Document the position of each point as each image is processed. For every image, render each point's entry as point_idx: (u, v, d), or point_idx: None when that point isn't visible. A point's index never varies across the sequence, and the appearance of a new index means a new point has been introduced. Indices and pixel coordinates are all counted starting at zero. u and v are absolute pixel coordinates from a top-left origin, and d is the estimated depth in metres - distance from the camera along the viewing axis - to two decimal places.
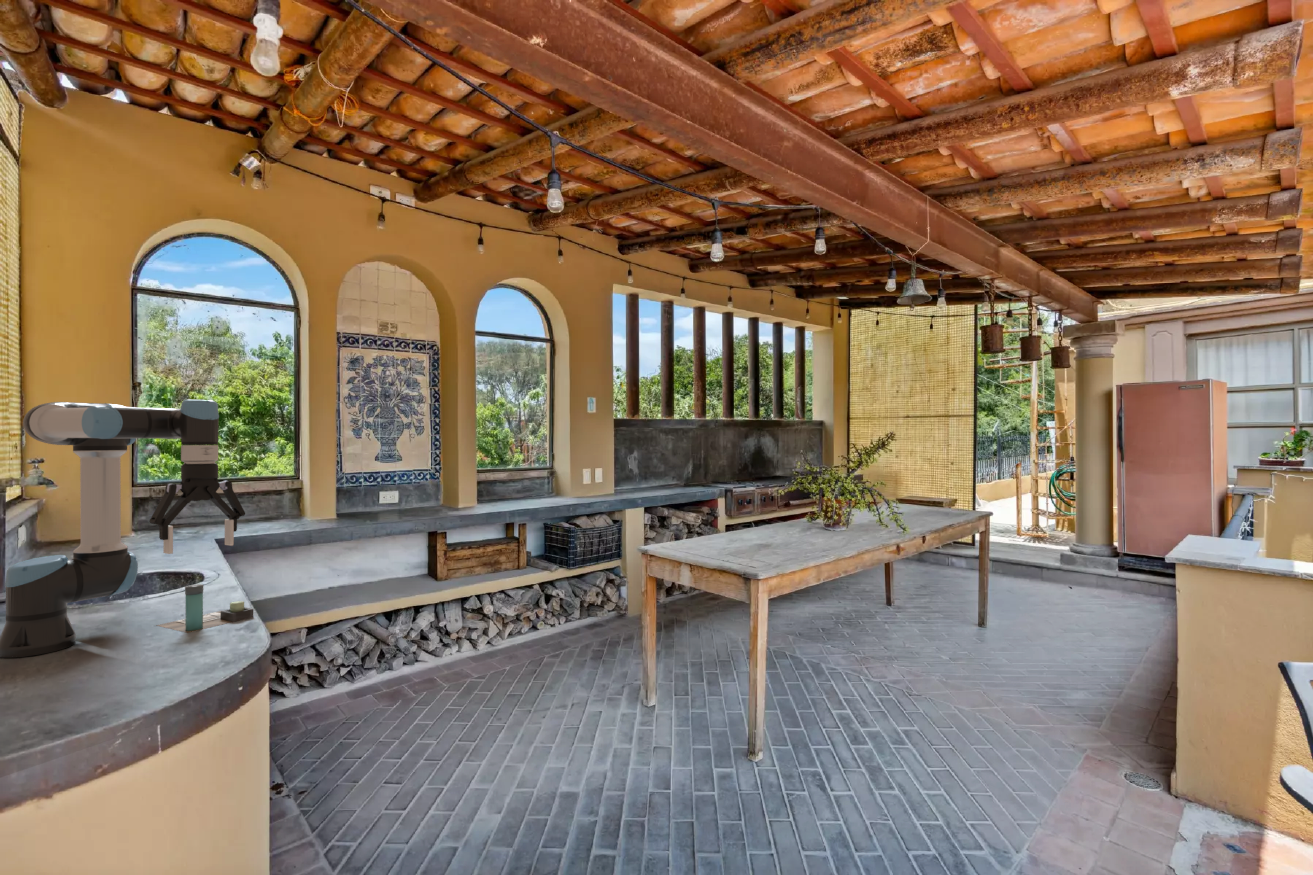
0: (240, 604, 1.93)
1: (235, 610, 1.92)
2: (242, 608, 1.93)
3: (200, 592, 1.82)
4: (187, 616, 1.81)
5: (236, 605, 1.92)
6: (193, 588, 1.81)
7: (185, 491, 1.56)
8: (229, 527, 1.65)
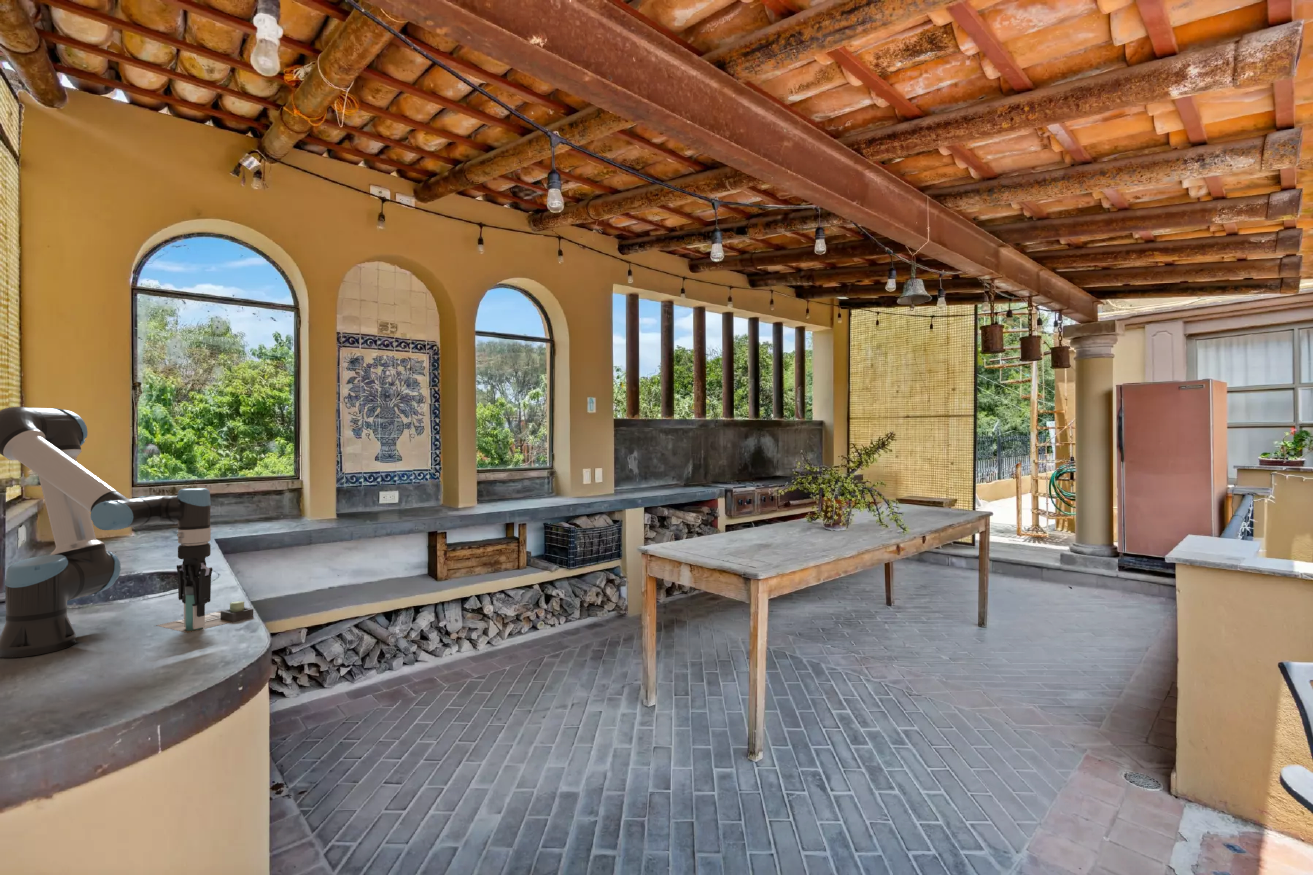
0: (240, 604, 1.93)
1: (235, 610, 1.92)
2: (242, 608, 1.93)
3: None
4: (187, 616, 1.81)
5: (236, 605, 1.92)
6: None
7: None
8: None
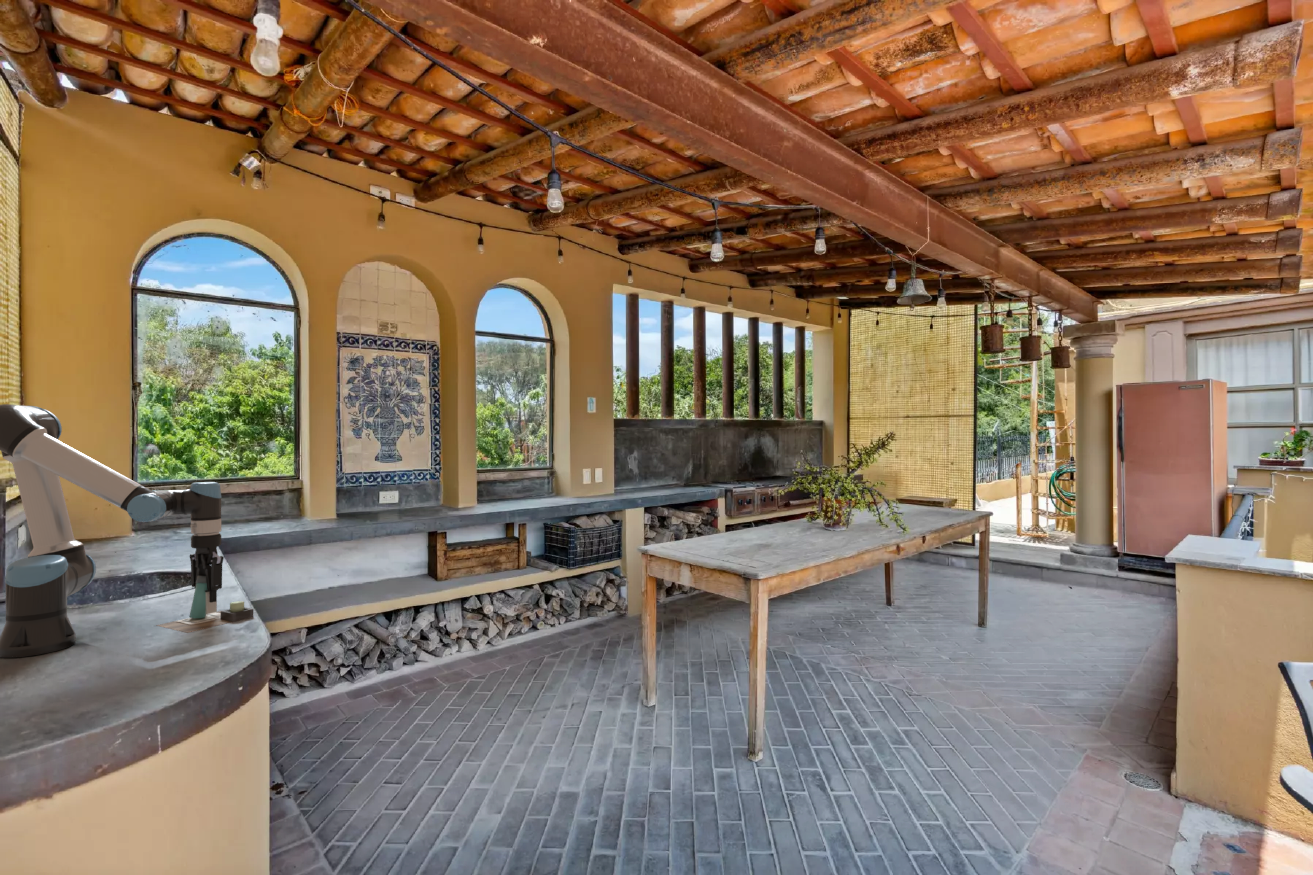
0: (240, 604, 1.93)
1: (235, 610, 1.92)
2: (242, 608, 1.93)
3: None
4: (197, 604, 1.91)
5: (236, 605, 1.92)
6: None
7: None
8: None
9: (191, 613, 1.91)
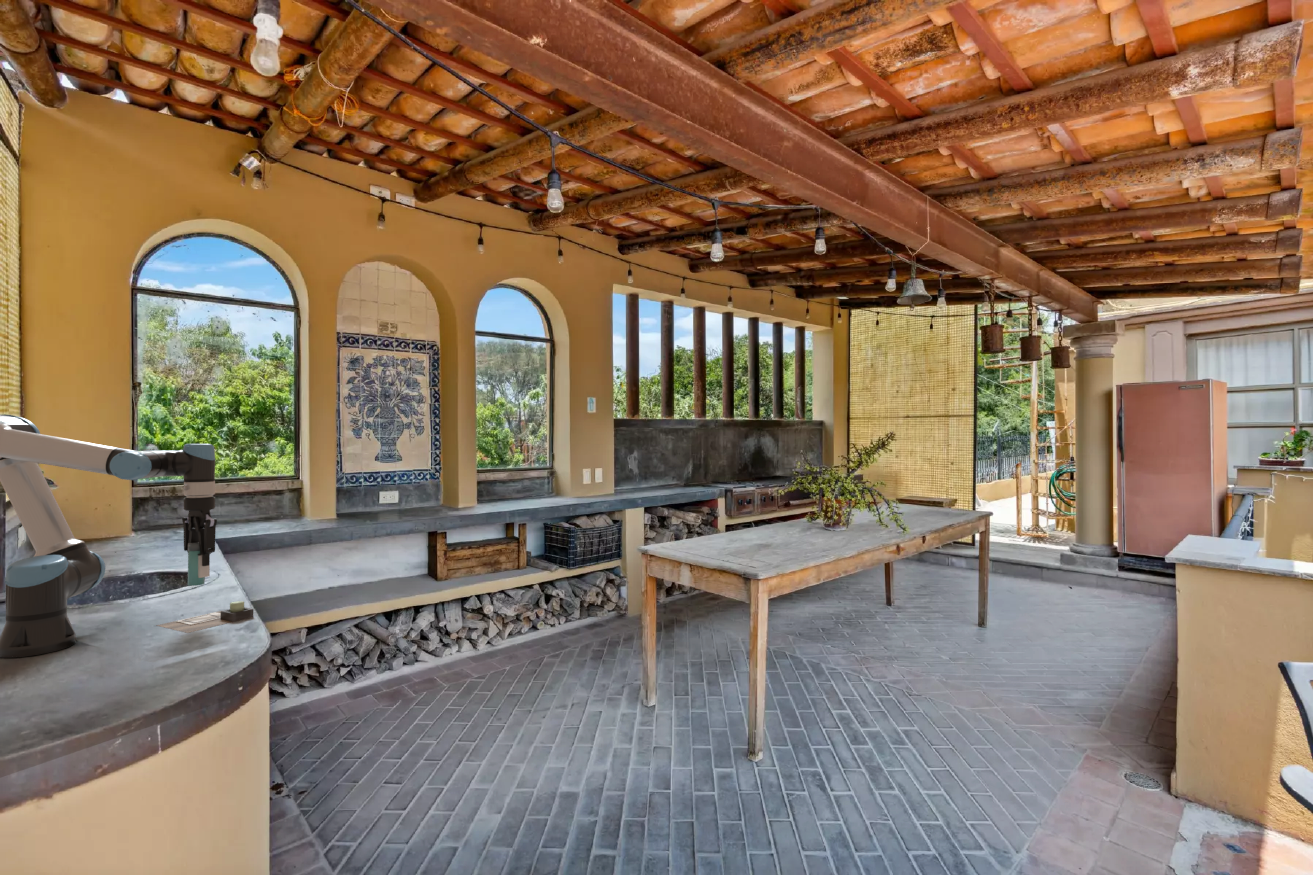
0: (240, 604, 1.93)
1: (235, 610, 1.92)
2: (242, 608, 1.93)
3: None
4: (195, 571, 1.88)
5: (236, 605, 1.92)
6: None
7: None
8: None
9: (190, 581, 1.88)
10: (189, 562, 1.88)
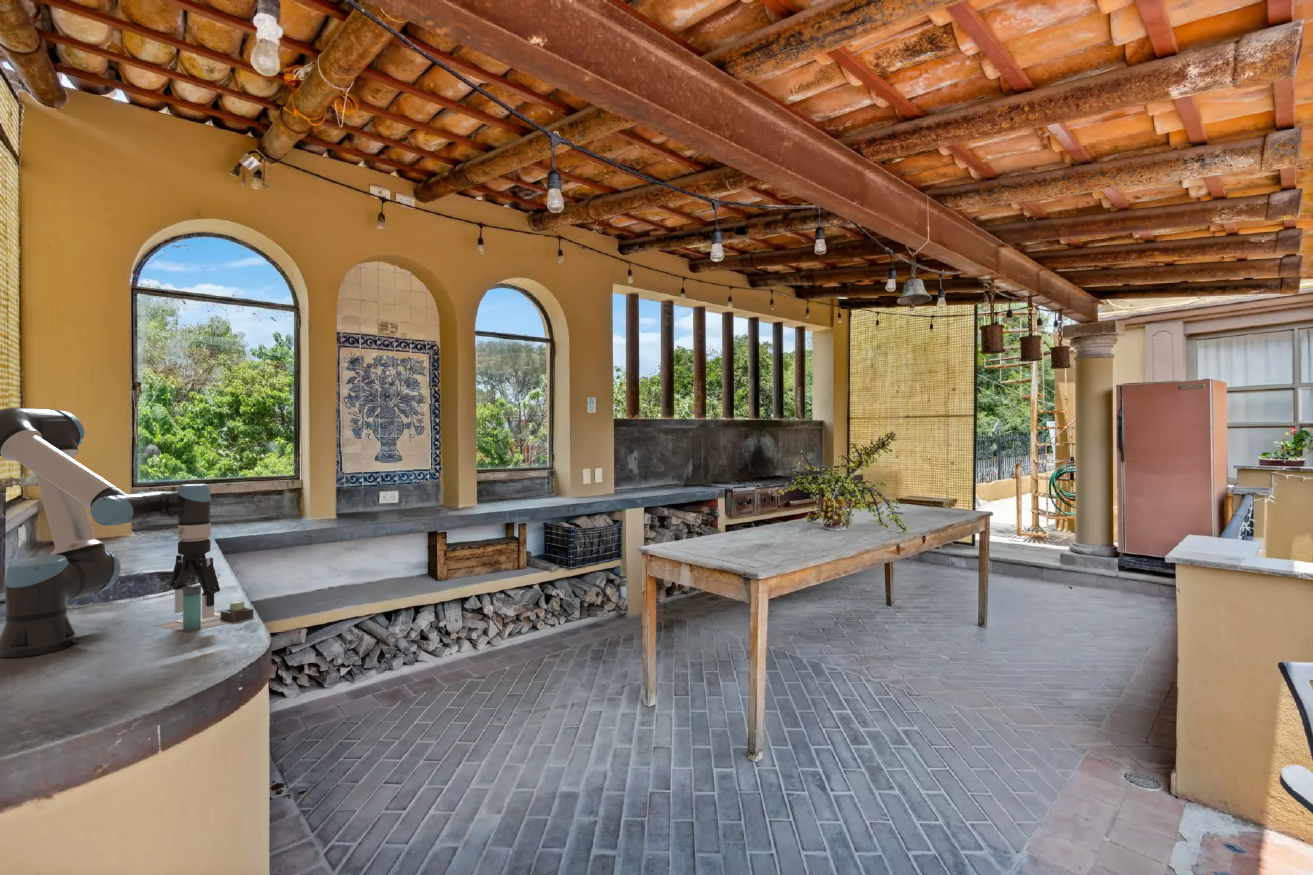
0: (240, 604, 1.93)
1: (235, 610, 1.92)
2: (242, 608, 1.93)
3: (200, 591, 1.83)
4: (190, 616, 1.80)
5: (236, 605, 1.92)
6: (197, 588, 1.82)
7: None
8: None
9: (185, 627, 1.80)
10: (184, 607, 1.80)
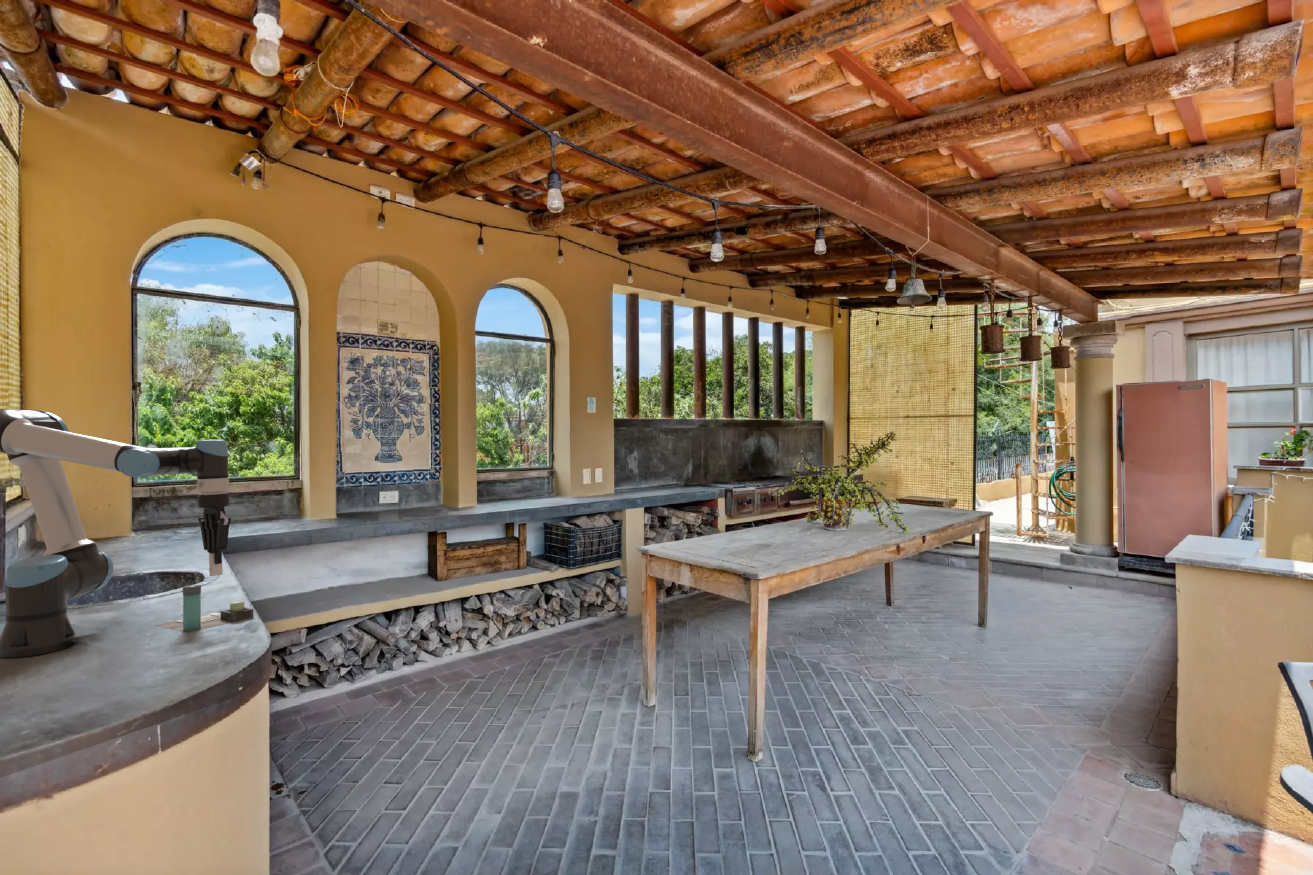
0: (240, 604, 1.93)
1: (235, 610, 1.92)
2: (242, 608, 1.93)
3: None
4: (190, 616, 1.80)
5: (236, 605, 1.92)
6: (197, 587, 1.82)
7: None
8: None
9: (185, 627, 1.80)
10: (184, 607, 1.80)
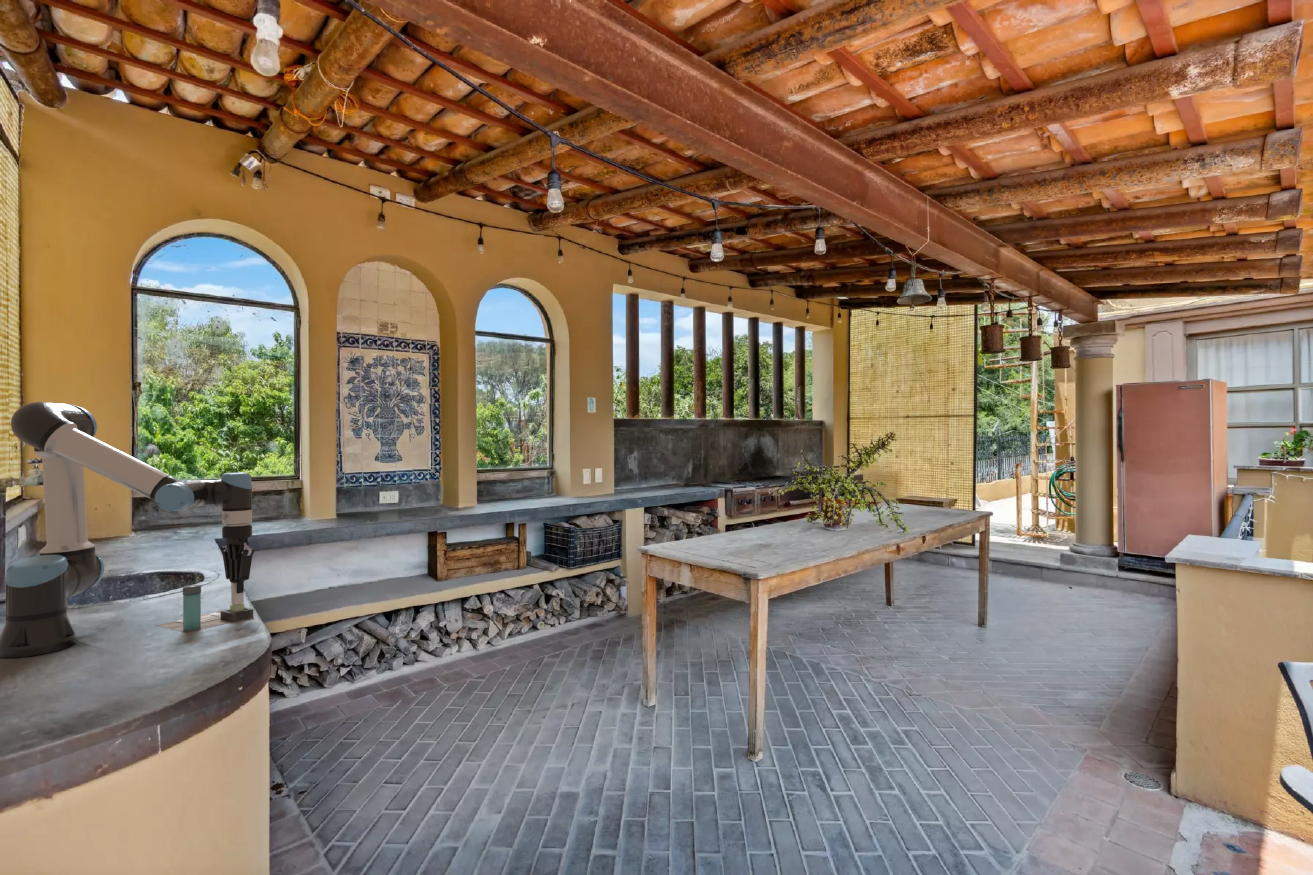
0: (240, 606, 1.93)
1: None
2: (242, 610, 1.93)
3: None
4: (190, 616, 1.80)
5: (236, 607, 1.92)
6: (197, 587, 1.82)
7: None
8: None
9: (185, 627, 1.80)
10: (184, 607, 1.80)
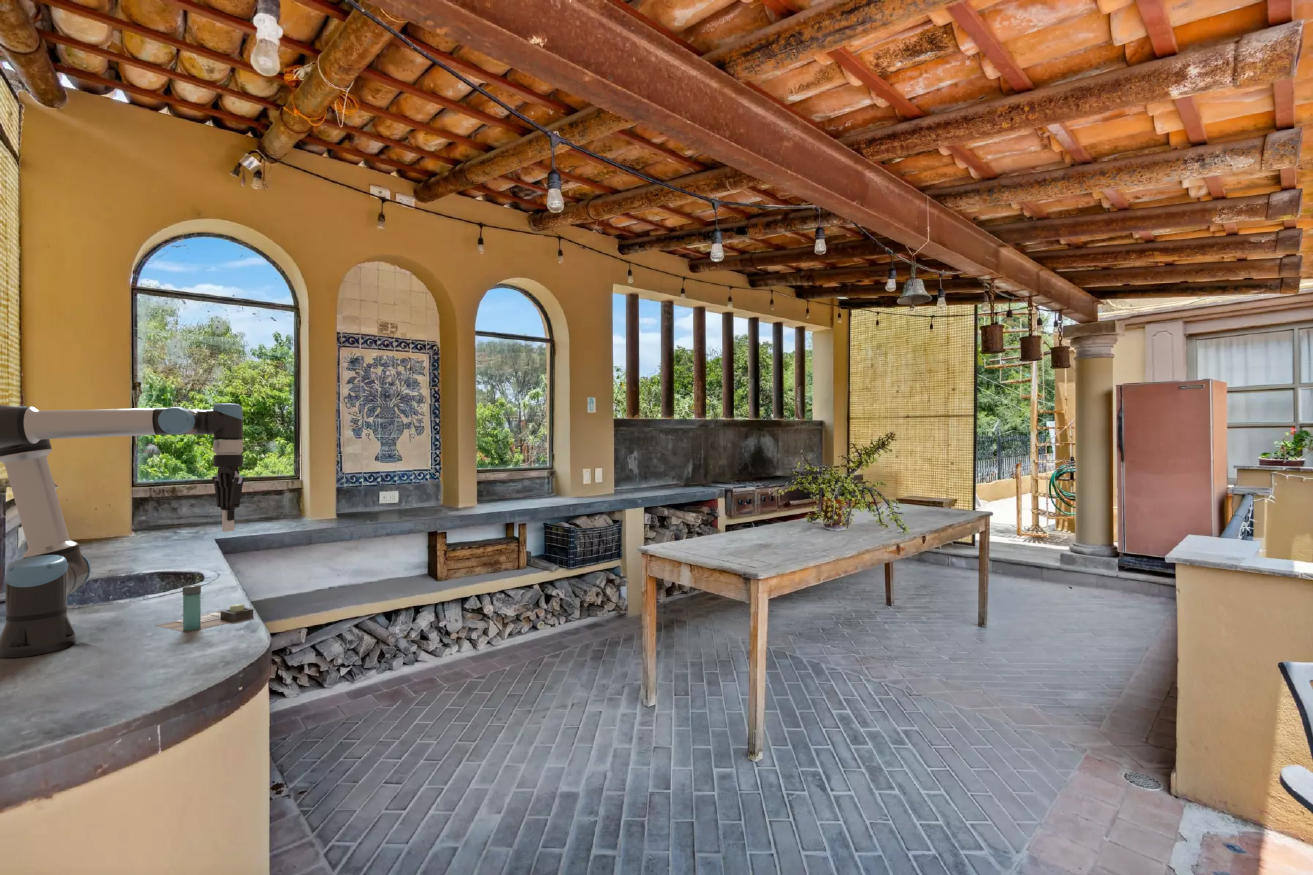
0: (240, 607, 1.93)
1: None
2: None
3: (200, 591, 1.83)
4: (190, 616, 1.80)
5: (236, 608, 1.92)
6: (197, 587, 1.82)
7: None
8: None
9: (185, 627, 1.80)
10: (184, 607, 1.80)
